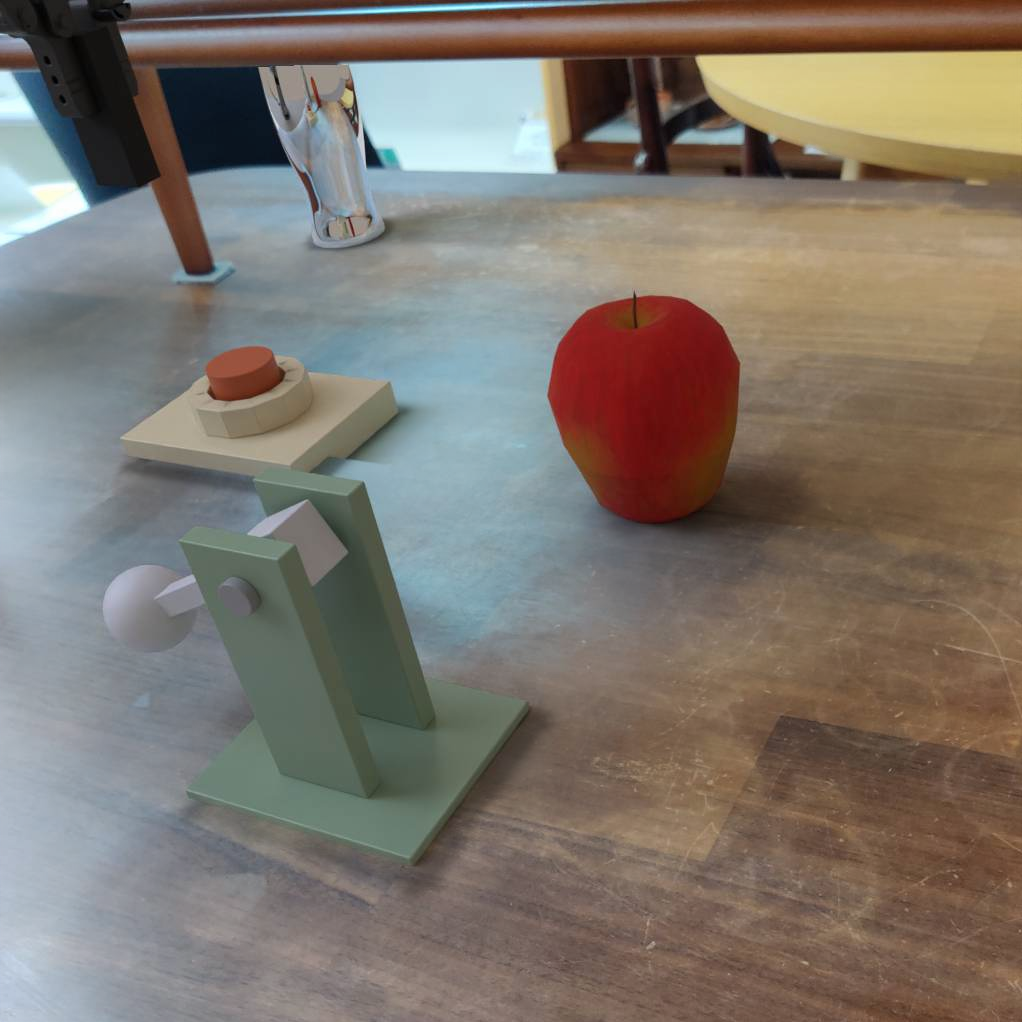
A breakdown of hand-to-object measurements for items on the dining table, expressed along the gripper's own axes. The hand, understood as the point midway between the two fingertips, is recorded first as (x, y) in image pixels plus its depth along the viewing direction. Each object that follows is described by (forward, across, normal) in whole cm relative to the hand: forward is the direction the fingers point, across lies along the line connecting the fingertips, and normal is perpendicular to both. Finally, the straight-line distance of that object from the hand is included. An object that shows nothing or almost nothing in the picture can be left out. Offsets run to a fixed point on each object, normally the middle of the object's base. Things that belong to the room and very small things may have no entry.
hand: (129, 180), depth 57 cm
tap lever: (+11, -16, -16) cm, 25 cm away
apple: (+18, +6, -23) cm, 30 cm away
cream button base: (+18, +6, +4) cm, 19 cm away
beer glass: (+18, +37, +20) cm, 46 cm away
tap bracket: (+18, -16, -20) cm, 31 cm away
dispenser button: (+15, +6, +4) cm, 16 cm away
